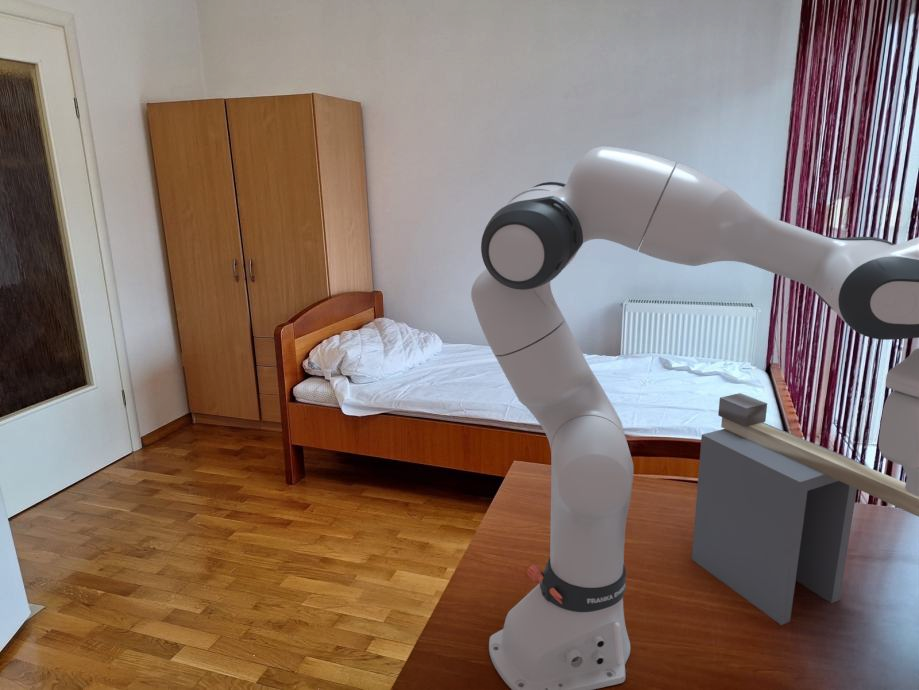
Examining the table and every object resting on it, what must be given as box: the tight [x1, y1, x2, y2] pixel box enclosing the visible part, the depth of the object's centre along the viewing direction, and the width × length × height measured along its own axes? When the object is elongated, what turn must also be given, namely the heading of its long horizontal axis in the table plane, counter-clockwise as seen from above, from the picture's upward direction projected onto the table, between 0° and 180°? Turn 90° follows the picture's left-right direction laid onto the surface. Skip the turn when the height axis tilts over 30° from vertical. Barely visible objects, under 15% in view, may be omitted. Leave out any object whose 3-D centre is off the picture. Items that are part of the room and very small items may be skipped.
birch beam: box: [717, 392, 919, 518], centre depth 100 cm, size 5×36×6 cm, turn 24°
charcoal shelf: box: [691, 422, 862, 626], centre depth 110 cm, size 14×20×26 cm
